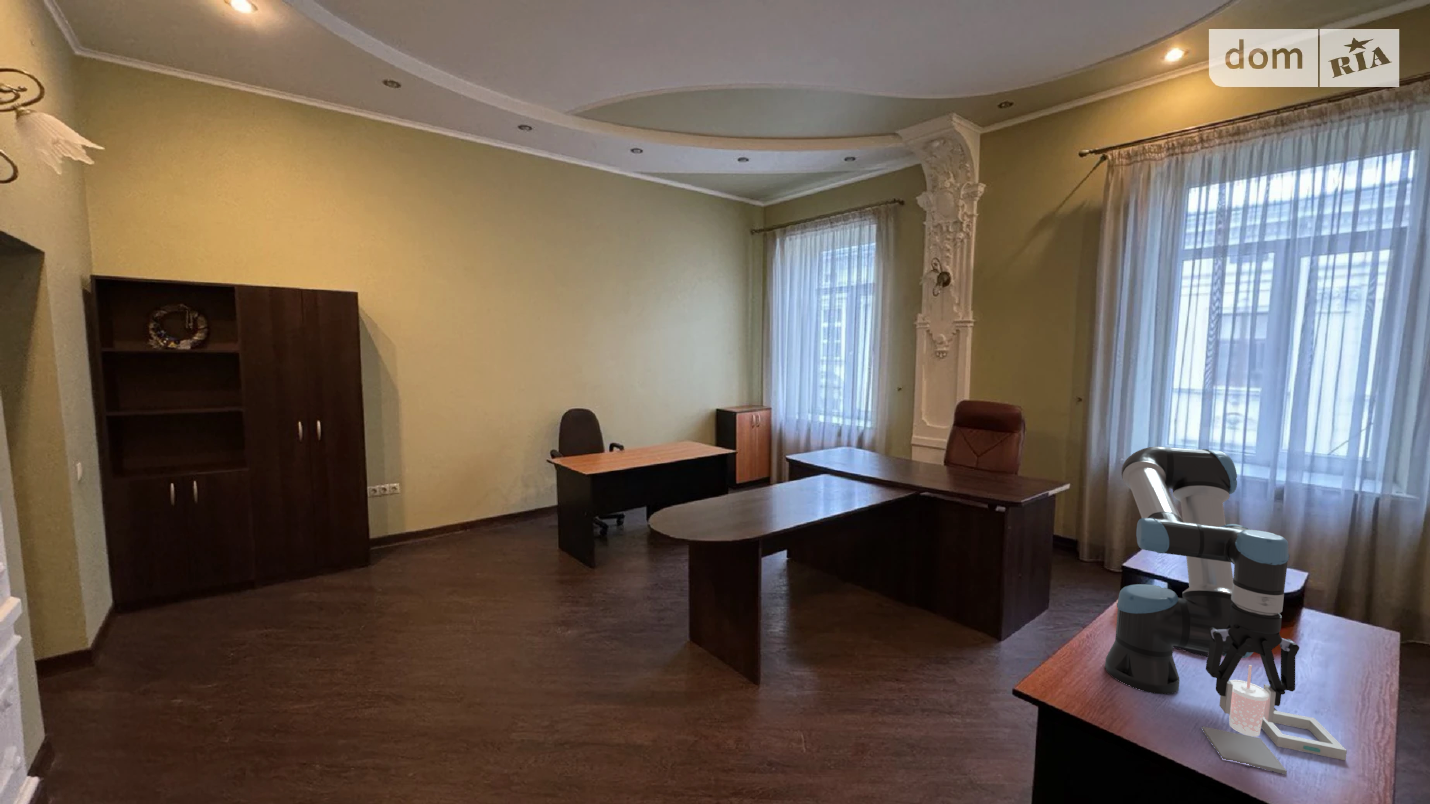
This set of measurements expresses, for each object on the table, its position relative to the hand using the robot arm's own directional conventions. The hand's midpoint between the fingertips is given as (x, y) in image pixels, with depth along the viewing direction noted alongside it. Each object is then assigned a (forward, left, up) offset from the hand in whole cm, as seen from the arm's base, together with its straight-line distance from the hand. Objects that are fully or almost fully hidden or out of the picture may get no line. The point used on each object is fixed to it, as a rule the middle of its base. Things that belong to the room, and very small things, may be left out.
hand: (1245, 713), depth 116 cm
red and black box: (+7, +51, -9) cm, 52 cm away
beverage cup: (0, 0, -4) cm, 4 cm away
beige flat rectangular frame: (+13, +12, -8) cm, 20 cm away
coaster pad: (0, 0, -8) cm, 8 cm away
